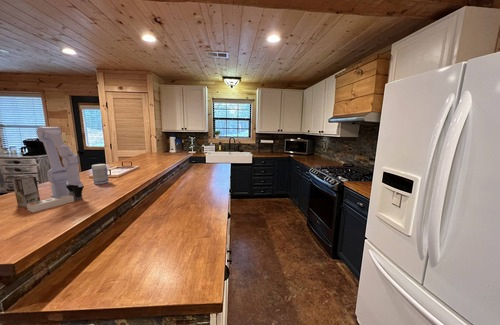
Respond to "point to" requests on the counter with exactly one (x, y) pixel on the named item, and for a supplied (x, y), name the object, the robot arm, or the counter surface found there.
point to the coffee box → (26, 190)
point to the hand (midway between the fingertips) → (76, 196)
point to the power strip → (50, 203)
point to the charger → (74, 195)
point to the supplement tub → (100, 173)
